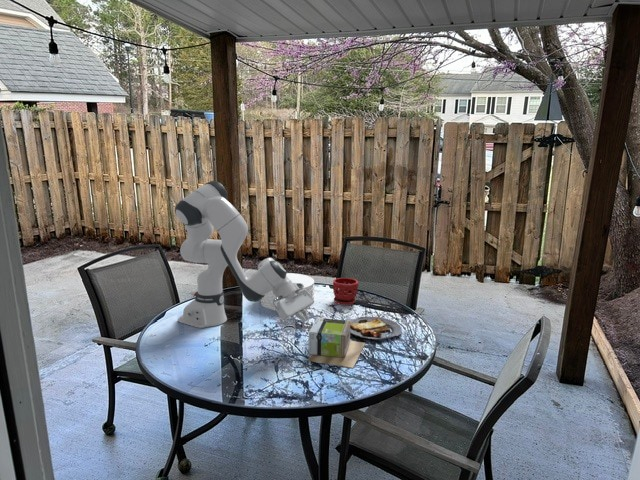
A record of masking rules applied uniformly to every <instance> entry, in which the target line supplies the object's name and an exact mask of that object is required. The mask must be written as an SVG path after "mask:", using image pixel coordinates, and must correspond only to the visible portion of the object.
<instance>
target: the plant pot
mask: <svg viewBox="0 0 640 480" xmlns="http://www.w3.org/2000/svg"><path fill="white" fill-rule="evenodd" d="M332 286H333V287H332V291H333V295H334V298H333V301H334V303H336V304H338V305H341V306H351V305H354V303H356V301H357V299H356V297H357V294H358V290H359V281H358V280H357V279H355V278H351V277H350V278H349V277H338V278H335V279H333V281H332Z"/></svg>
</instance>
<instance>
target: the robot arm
mask: <svg viewBox="0 0 640 480" xmlns="http://www.w3.org/2000/svg"><path fill="white" fill-rule="evenodd" d="M174 212H175V215H176V217H177V219H178V220H179V221H180V223H182V224H183V225H184V226H185V230H186V233H187V238H186V239H184V241H183V242H182V244H181V245H180V249H179V253H180V256H181V258H182V260H183V261H187V262H191V263H195V264H196V263H197V264H198V263H199V264H207V265H208V266H207V267H208V268H206V269H205V270H203V271H200V273H198V276H197V278H196V280H197V282H196V283H197V291H196V292H195V293H193V294H192V295H193V296H192V297H193V298H194V299H193V300H191V301H190V303H188V304H186V305H185V307H184V308H183V312H182V315H180V316H179V318H178V319H177V320H178V323H182V324H185V325H189V326H192V327H196V328H198V329H203V328H208V327H209V328H210V327H215V326H219V325H223V324H224V323H226V322H227V320H228V318H227V313H226V311H225V306H224V305H225V304H224V301H225V298H224V297H225V295H224V290H223V276H224V272H225V270H226V268H227V267H228V268H229V270H230V272H231V273H232V275H233V276H234V279H235V280H236V283H237V284H238V287H239V288H240V291H241V294H242V295H243V297H244V298H245V299H246V301H247V302H252V303H254V302H255V303H257V302H259V301H260V302H261V299H262V298H263V297H264V296H265V295H266V294H267V293H268V292H270V291H271V290H272V291H273V294H274V295H275V296H276V298H275V299H274V300H273V305H274V306H275V309H276V310H275V311H276V313H277V314H278V317H279V318H280V319H281V320H282V321H287V320H289V319H290V318H292V317H294V316H295V317H297V319H299V320H301V322H302V323H306V322H307V321H308V320H310V316H309V315H308V311H307V309H309V308H310V307H312V306H313V305H314V304H315V298H314V299H313V297H312V296H311V295H310V293H309V292H308V291H307V290H306V289H304V285H303V284H302V283H292V281H291V280H290V279H289V278H287V276H286V274H287V273H288V272H287V270H286V269H285V268H284V266H283V264H282V263H281V262H280V261H278V260H277V261H276V260H275V259H274V258H272V257H267V258H264V259H263V260H261V261H260V262H259V263H258V265H257V270H256V271H254V272H253V273H252V274H250V275H248V276H247V274H246V272H245V270H244V268H243V267H242V266H241V263H240V262H239V260H238V252H239V250H240V248H241V246H242V245H243V244H244V242H245V240H246V238H247V235H248V231H249V227H248V224H247V222H246V220H245V219H244V217H243V216H242V215H241V213H240V212H239V211H238V209H237V208H236V207H235V206H234V205H233V204H232V203H231V202H229V200H228V191H227V190H226V188H225V186H223V184H222V183H221V182H219V181H217V180H211V181H208V182H206V183H205V184H203V185H201V186H199V187H198V188H195V189H194V190H193V191H192V192H191V193H189V194H188V195H186V196H185V197H183V198H182V200H180V201H179V202H178V203H176V205H175V206H174ZM214 230H215V231H216V233H218V235H219V237H220V239H212V238H210V237H212V235H213V233H214ZM313 303H314V304H313ZM312 304H313V305H312ZM311 305H312V306H311ZM309 306H310V307H309Z"/></svg>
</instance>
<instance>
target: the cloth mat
mask: <svg viewBox="0 0 640 480" xmlns="http://www.w3.org/2000/svg"><path fill="white" fill-rule="evenodd" d="M365 346H366V342H361V341H355V340H350V343H349V346H348V350H347V353H346V356H345V358H341V357H331V356H322V355H313V354H310V356H309V357H308V359H307V361H308V362H314V363H319V364H325V365H330V366H338V367H342V368H348V369H349V368H350V369H354V367H355V365H356V363H357V361H358V359H359V357H360V355H361V353H362V351H363V349H364V347H365Z"/></svg>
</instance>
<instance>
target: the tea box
mask: <svg viewBox="0 0 640 480" xmlns="http://www.w3.org/2000/svg"><path fill="white" fill-rule="evenodd" d="M350 341H351V333H350V320H348V319H335V318H324V317H316V319H315V321H314V322H313V324H312V326H311V328H310V330H309V331H308V354H309V355H311V354H313V355H322V356H331V357H341V358H345V356H346V353H347V350H348V346H349V343H350Z"/></svg>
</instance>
